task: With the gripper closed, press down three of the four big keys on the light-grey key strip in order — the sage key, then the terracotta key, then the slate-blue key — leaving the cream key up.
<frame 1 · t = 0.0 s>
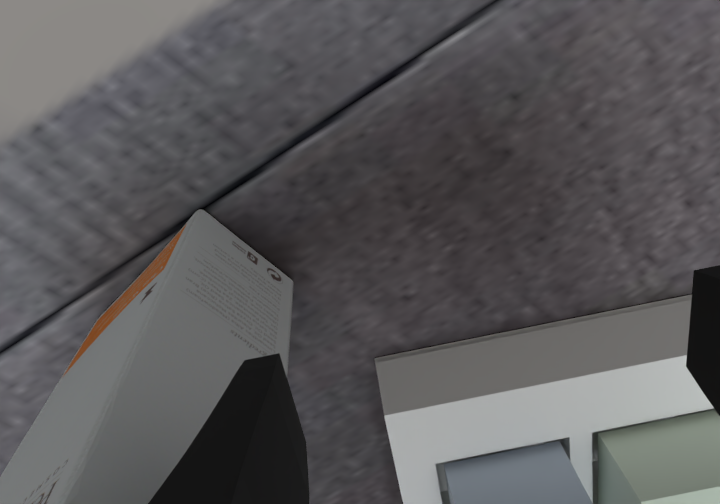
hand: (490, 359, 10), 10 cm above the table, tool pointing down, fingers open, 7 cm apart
key strip: (681, 396, 24), on the table
skincare box: (194, 296, 21), on the table
key sage: (676, 496, 20), point 4 cm above the table, slide at 0.0 cm
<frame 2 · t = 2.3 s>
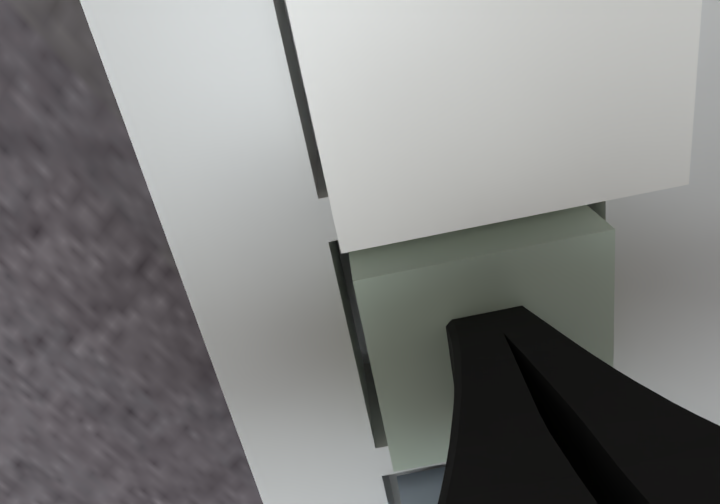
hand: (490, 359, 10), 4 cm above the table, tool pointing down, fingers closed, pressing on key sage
key strip: (429, 141, 13), on the table
key cream: (466, 22, 7), point 4 cm above the table, slide at 0.0 cm
key sage: (472, 315, 11), point 3 cm above the table, slide at 1.8 cm, touching gripper
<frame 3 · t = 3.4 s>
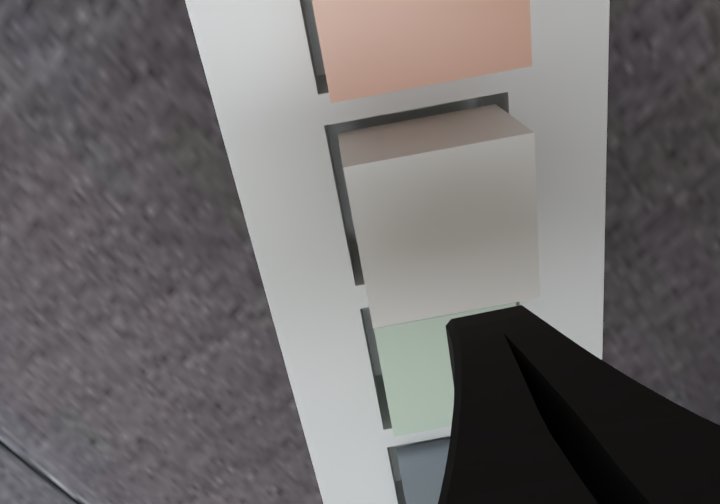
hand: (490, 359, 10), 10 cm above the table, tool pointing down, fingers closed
key strip: (419, 238, 20), on the table
key cream: (435, 213, 15), point 5 cm above the table, slide at 0.0 cm
key sage: (442, 344, 19), point 2 cm above the table, slide at 2.1 cm
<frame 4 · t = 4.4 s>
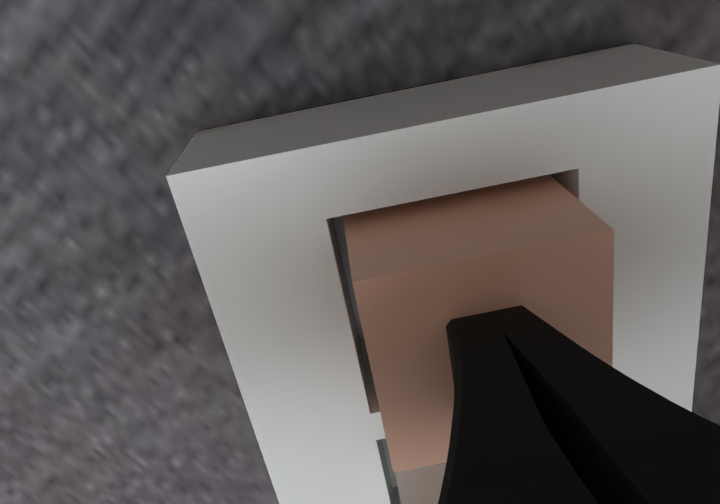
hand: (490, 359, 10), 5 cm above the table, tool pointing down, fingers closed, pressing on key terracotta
key terracotta: (471, 316, 12), point 4 cm above the table, slide at 0.8 cm, touching gripper
key strip: (467, 474, 19), on the table
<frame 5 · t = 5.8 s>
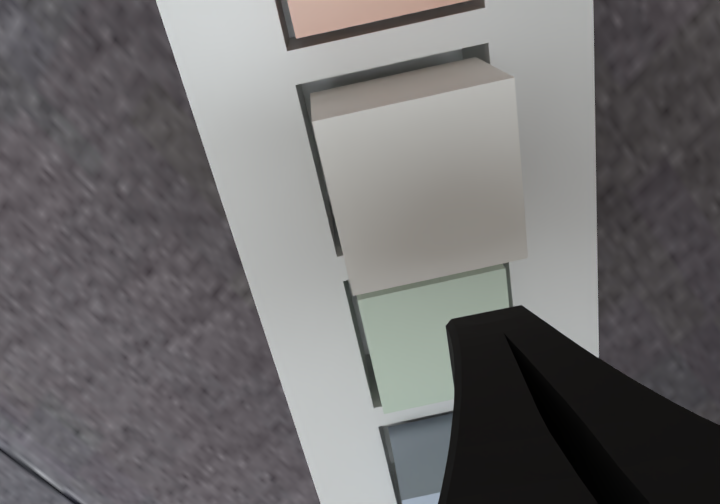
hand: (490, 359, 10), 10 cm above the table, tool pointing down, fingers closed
key strip: (405, 209, 19), on the table
key slate: (467, 493, 19), point 5 cm above the table, slide at 0.0 cm
key cream: (415, 173, 14), point 4 cm above the table, slide at 0.0 cm
key sage: (431, 317, 19), point 2 cm above the table, slide at 2.1 cm
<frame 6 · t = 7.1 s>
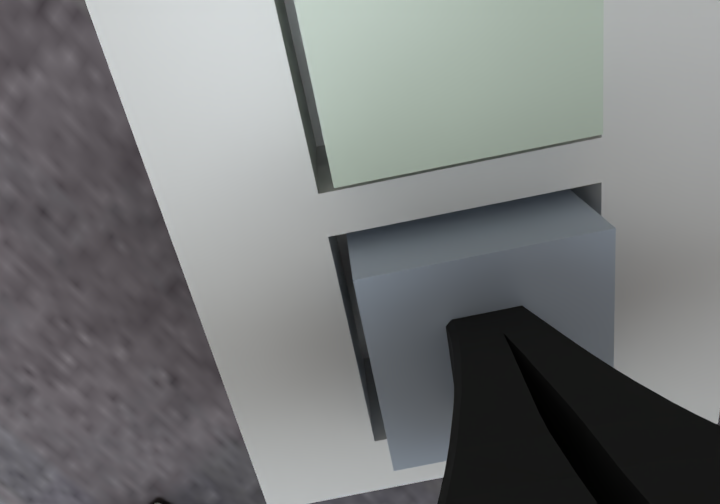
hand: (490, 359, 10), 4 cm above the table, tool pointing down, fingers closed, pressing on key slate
key slate: (472, 314, 11), point 3 cm above the table, slide at 1.6 cm, touching gripper
key sage: (432, 9, 9), point 2 cm above the table, slide at 2.1 cm
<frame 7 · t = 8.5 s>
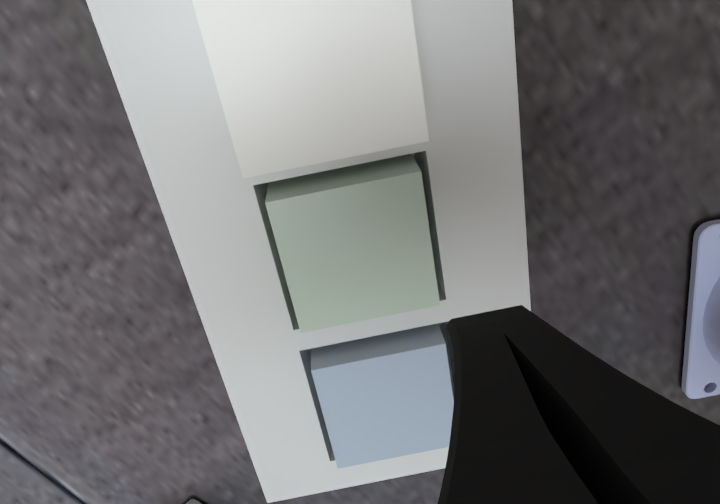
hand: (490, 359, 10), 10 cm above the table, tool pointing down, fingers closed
key strip: (332, 125, 19), on the table
key slate: (383, 379, 20), point 2 cm above the table, slide at 2.1 cm
key cream: (314, 53, 13), point 4 cm above the table, slide at 0.0 cm
key sage: (353, 234, 18), point 2 cm above the table, slide at 2.1 cm
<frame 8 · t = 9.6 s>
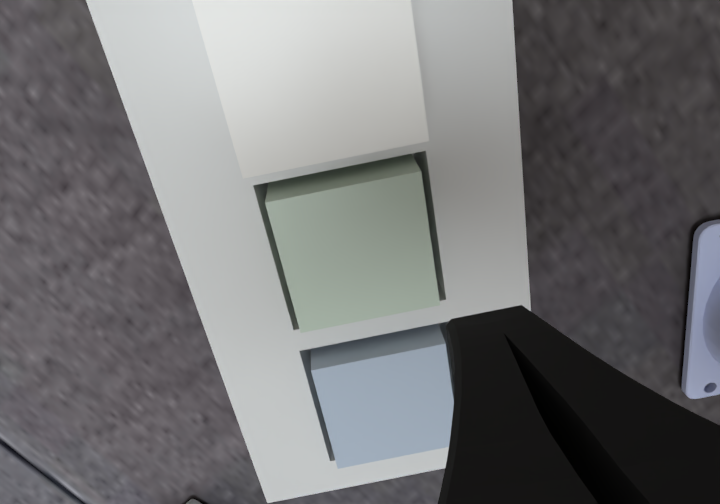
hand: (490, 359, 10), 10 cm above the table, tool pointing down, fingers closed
key strip: (332, 125, 19), on the table
key slate: (383, 379, 20), point 2 cm above the table, slide at 2.1 cm
key cream: (314, 53, 13), point 4 cm above the table, slide at 0.0 cm
key sage: (353, 234, 18), point 2 cm above the table, slide at 2.1 cm
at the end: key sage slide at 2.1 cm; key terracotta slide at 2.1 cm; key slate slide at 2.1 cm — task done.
